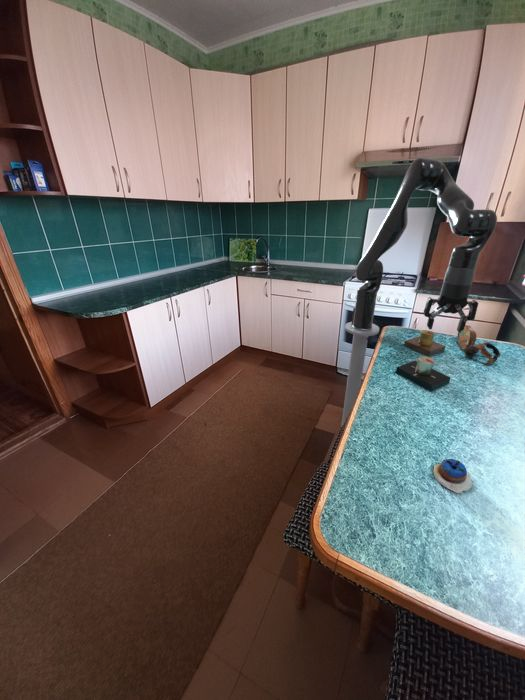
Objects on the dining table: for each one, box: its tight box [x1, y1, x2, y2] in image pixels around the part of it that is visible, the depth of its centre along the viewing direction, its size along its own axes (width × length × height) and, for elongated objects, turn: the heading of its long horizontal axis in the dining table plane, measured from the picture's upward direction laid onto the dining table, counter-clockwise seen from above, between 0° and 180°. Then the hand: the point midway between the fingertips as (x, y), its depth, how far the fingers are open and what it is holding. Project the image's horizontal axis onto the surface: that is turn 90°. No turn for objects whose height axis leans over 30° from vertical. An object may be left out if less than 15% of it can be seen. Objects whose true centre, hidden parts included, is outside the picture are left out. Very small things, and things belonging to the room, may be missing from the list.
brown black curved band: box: [463, 341, 501, 366], centre depth 114 cm, size 12×10×8 cm
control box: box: [395, 360, 452, 392], centre depth 103 cm, size 14×10×3 cm
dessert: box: [433, 458, 473, 494], centre depth 66 cm, size 8×7×6 cm
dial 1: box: [419, 329, 435, 346], centre depth 123 cm, size 5×5×5 cm
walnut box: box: [403, 335, 446, 358], centre depth 124 cm, size 12×10×3 cm
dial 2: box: [415, 355, 435, 376], centre depth 102 cm, size 5×5×5 cm
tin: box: [456, 324, 477, 351], centre depth 124 cm, size 15×3×8 cm, turn 161°
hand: (444, 329), depth 97 cm, fingers open, 8 cm apart
